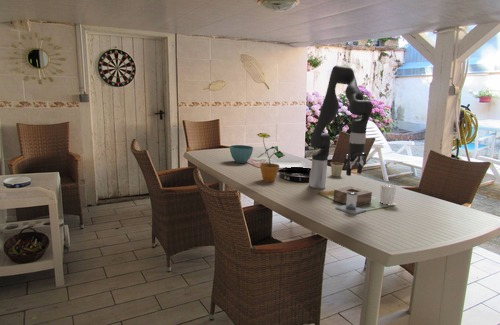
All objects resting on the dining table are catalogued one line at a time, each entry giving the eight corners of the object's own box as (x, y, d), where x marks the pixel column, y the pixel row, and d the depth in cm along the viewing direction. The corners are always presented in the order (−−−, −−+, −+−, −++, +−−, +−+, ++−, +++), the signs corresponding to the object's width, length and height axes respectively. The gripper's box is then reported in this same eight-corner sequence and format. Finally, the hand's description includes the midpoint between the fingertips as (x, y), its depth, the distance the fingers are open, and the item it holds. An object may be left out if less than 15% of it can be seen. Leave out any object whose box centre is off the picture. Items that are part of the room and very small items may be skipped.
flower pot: (341, 174, 272) (342, 162, 270) (344, 177, 263) (345, 165, 261) (327, 173, 271) (328, 162, 270) (331, 176, 262) (332, 164, 261)
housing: (333, 200, 206) (334, 189, 205) (349, 196, 215) (350, 186, 214) (354, 207, 196) (355, 195, 195) (370, 202, 204) (371, 192, 203)
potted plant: (252, 182, 237) (254, 134, 232) (258, 176, 255) (260, 131, 250) (280, 185, 233) (283, 136, 228) (284, 178, 251) (287, 133, 246)
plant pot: (256, 162, 303) (257, 146, 301) (244, 165, 288) (244, 149, 286) (237, 159, 313) (238, 144, 310) (224, 162, 297) (225, 146, 295)
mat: (335, 208, 192) (335, 207, 192) (347, 205, 198) (348, 204, 198) (353, 214, 183) (353, 213, 183) (365, 211, 189) (366, 209, 189)
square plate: (267, 164, 298) (267, 159, 297) (301, 165, 300) (301, 160, 299) (271, 172, 271) (271, 166, 270) (309, 173, 273) (309, 167, 272)
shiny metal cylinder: (343, 207, 191) (345, 192, 189) (349, 206, 194) (351, 191, 192) (351, 210, 187) (353, 194, 185) (358, 208, 190) (359, 193, 188)
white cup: (384, 205, 200) (386, 187, 198) (375, 201, 207) (377, 183, 206) (397, 205, 202) (399, 187, 200) (388, 200, 210) (390, 183, 208)
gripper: (359, 140, 191) (356, 171, 194) (341, 141, 182) (338, 174, 186) (372, 142, 185) (369, 174, 188) (354, 144, 176) (351, 177, 180)
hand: (353, 174), depth 187 cm, fingers open, 8 cm apart
